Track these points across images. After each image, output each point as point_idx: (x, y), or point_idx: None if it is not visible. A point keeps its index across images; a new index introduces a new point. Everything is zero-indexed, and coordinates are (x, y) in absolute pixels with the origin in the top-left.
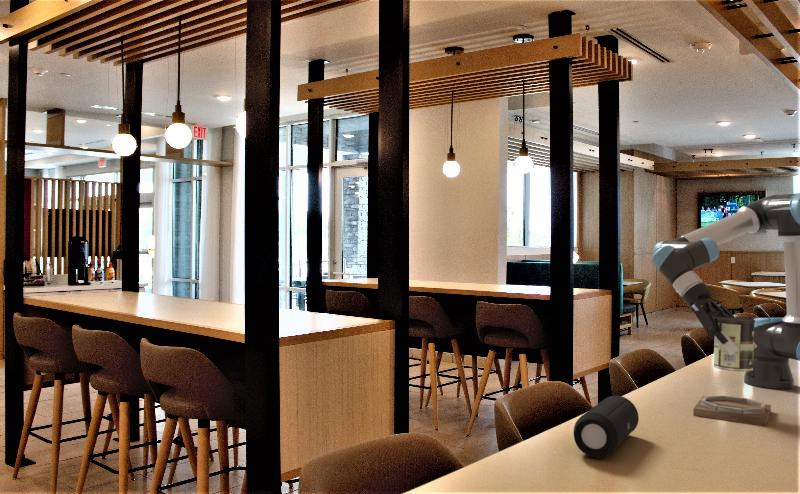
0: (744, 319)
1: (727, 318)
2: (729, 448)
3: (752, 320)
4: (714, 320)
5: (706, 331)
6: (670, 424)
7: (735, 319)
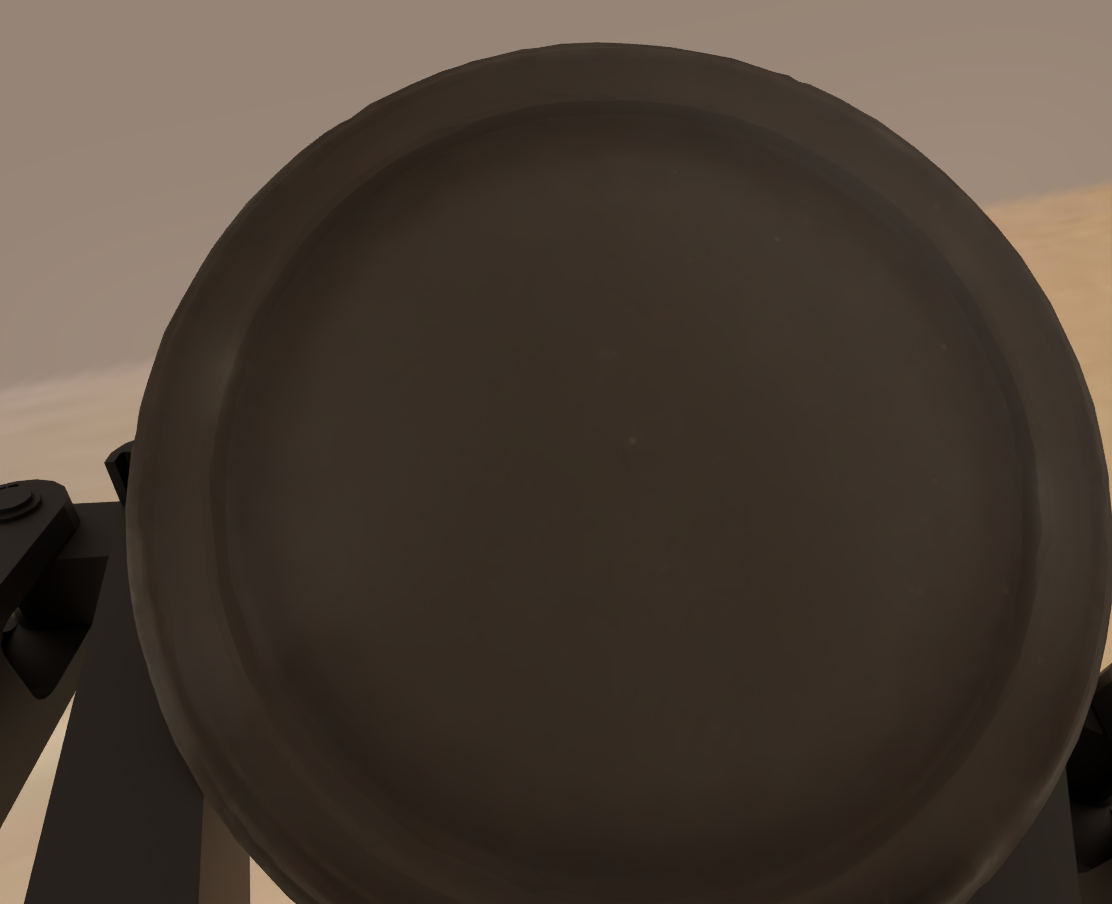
0: (478, 271)
1: (630, 648)
2: (1103, 379)
3: (639, 70)
4: (1046, 854)
5: (1101, 816)
6: None
7: (692, 421)
